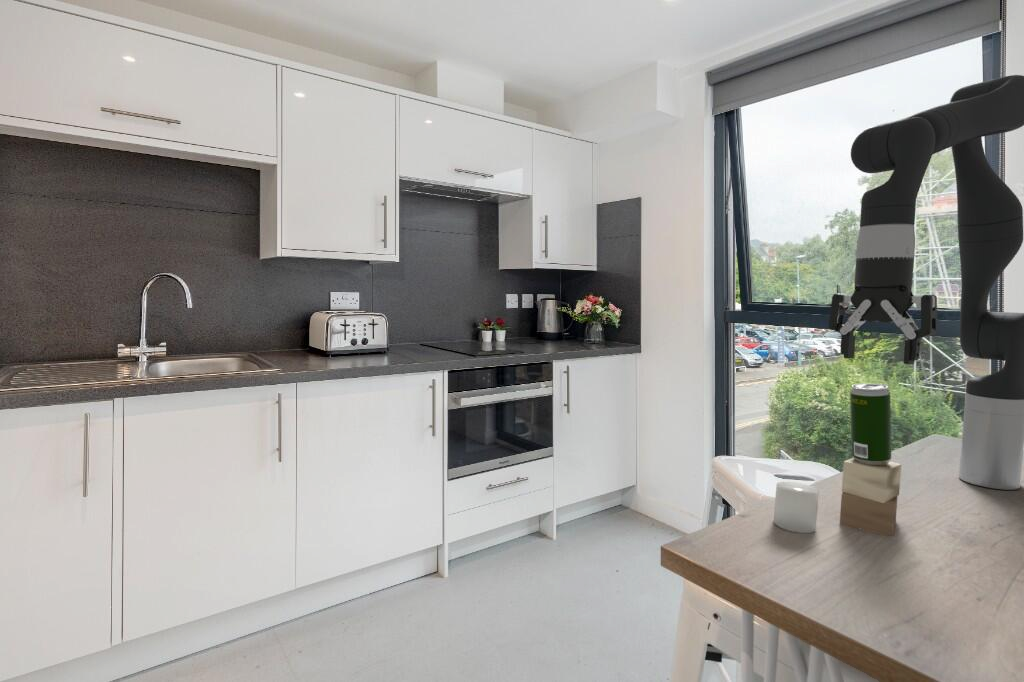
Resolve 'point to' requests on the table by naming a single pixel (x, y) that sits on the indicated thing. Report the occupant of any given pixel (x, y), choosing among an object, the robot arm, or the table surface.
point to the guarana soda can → (870, 424)
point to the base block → (868, 513)
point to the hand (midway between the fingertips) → (877, 360)
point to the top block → (871, 480)
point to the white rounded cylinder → (796, 507)
